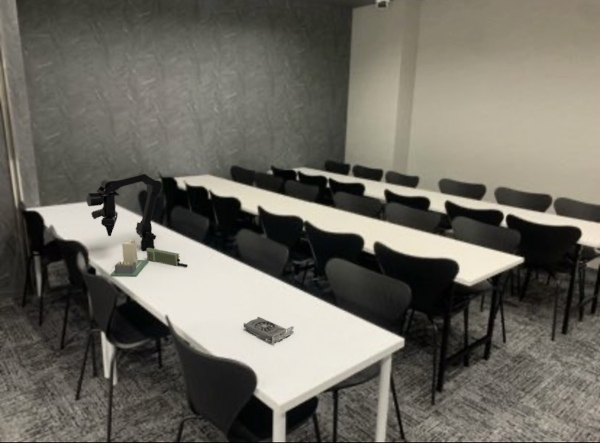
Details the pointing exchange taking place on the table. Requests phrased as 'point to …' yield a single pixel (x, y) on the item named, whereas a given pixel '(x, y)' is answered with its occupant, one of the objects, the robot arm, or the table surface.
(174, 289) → the table surface
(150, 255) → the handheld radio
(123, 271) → the board
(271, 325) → the graphics card
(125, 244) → the plug
